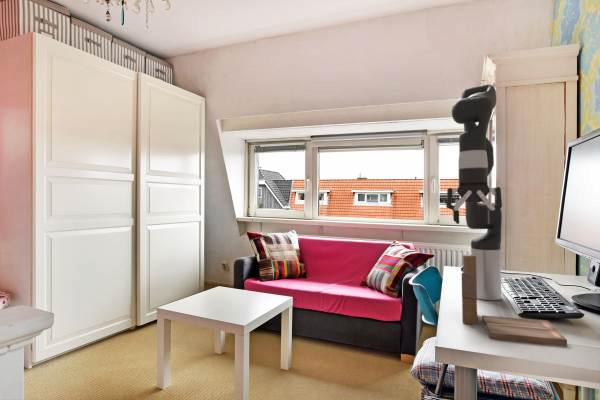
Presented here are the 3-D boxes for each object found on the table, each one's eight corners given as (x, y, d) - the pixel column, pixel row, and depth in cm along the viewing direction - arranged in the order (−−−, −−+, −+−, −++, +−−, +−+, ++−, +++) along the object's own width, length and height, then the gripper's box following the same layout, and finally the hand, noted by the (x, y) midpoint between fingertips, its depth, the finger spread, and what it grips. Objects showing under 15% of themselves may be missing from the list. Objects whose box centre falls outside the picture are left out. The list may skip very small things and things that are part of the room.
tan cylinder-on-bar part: (462, 323, 100) (461, 259, 100) (463, 312, 110) (462, 253, 110) (477, 325, 98) (475, 260, 98) (477, 314, 108) (476, 254, 108)
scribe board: (482, 320, 102) (482, 315, 102) (547, 326, 97) (547, 320, 97) (490, 338, 89) (490, 332, 89) (567, 346, 83) (567, 339, 83)
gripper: (497, 167, 104) (498, 223, 104) (445, 169, 109) (445, 222, 108) (503, 165, 97) (504, 224, 97) (447, 167, 101) (448, 224, 101)
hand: (473, 223), depth 103 cm, fingers open, 8 cm apart
